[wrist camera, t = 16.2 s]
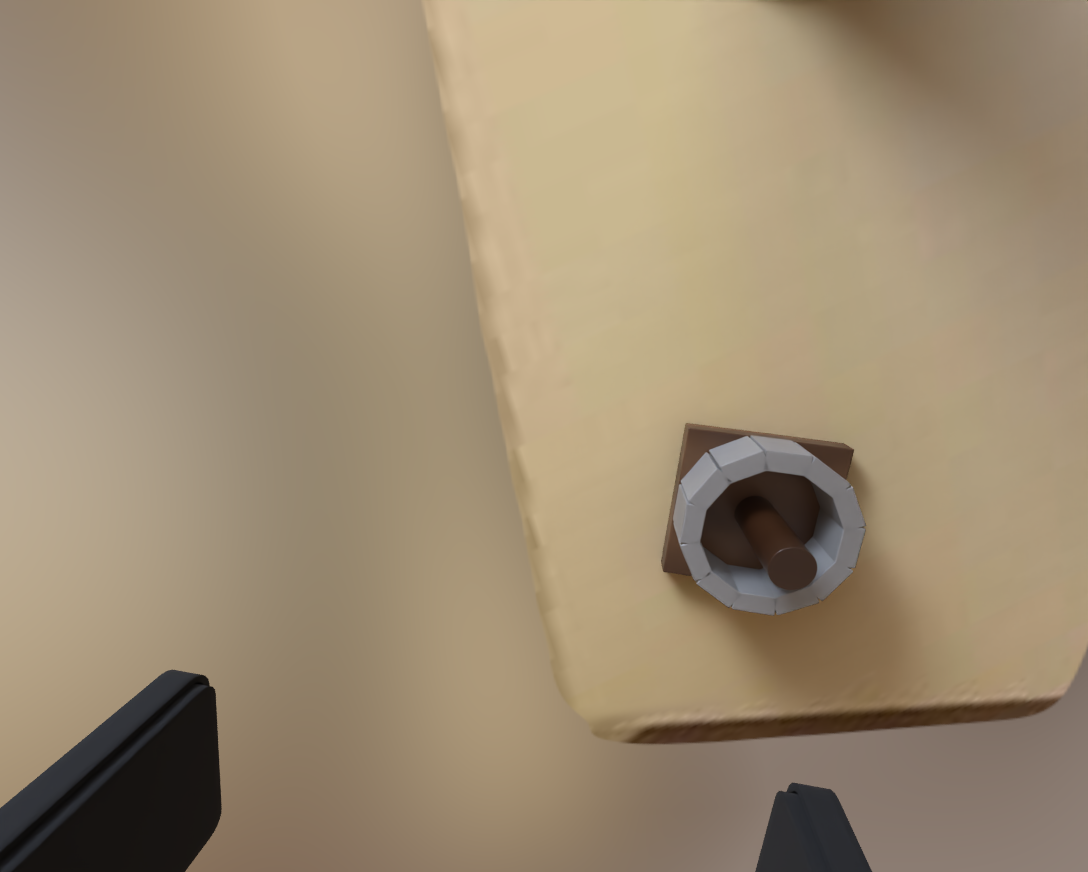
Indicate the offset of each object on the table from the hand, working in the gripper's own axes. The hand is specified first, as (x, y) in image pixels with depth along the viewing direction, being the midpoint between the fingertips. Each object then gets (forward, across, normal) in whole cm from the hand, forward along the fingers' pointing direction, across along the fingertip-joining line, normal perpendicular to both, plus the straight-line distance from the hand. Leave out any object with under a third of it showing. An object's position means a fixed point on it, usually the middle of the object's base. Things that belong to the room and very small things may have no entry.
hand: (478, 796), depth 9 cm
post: (+28, -12, +4) cm, 31 cm away
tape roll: (+27, -12, +4) cm, 30 cm away
